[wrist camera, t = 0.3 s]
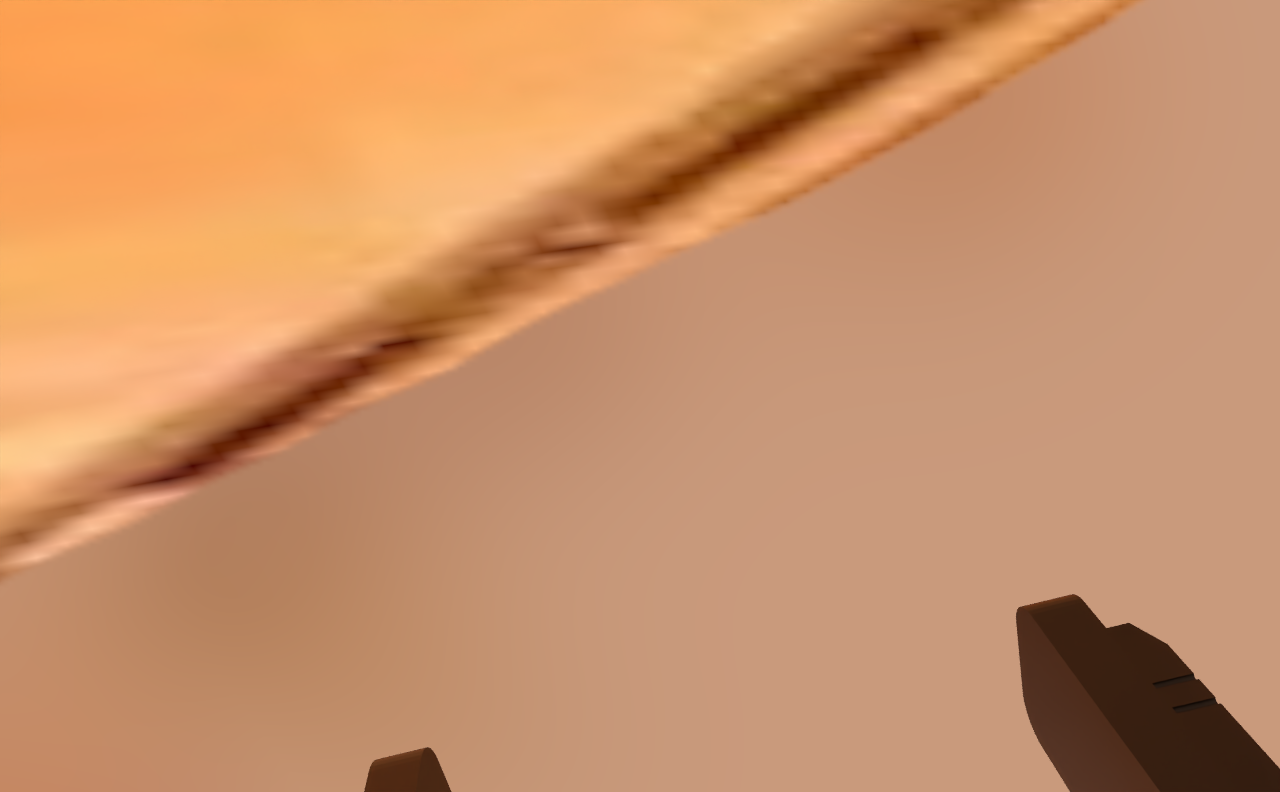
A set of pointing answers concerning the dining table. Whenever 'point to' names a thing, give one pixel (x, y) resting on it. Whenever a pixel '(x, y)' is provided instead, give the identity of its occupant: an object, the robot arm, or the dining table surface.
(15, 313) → the dining table surface
